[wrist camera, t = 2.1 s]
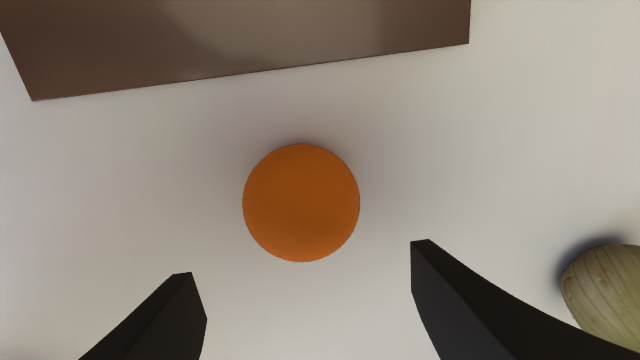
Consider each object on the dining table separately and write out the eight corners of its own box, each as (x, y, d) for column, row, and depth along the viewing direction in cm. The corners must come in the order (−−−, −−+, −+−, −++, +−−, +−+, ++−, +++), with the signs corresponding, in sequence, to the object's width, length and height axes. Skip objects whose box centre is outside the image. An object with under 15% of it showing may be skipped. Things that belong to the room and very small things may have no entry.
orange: (240, 138, 18) (218, 180, 13) (346, 123, 18) (366, 160, 13) (260, 229, 20) (248, 296, 15) (354, 216, 20) (374, 278, 15)
